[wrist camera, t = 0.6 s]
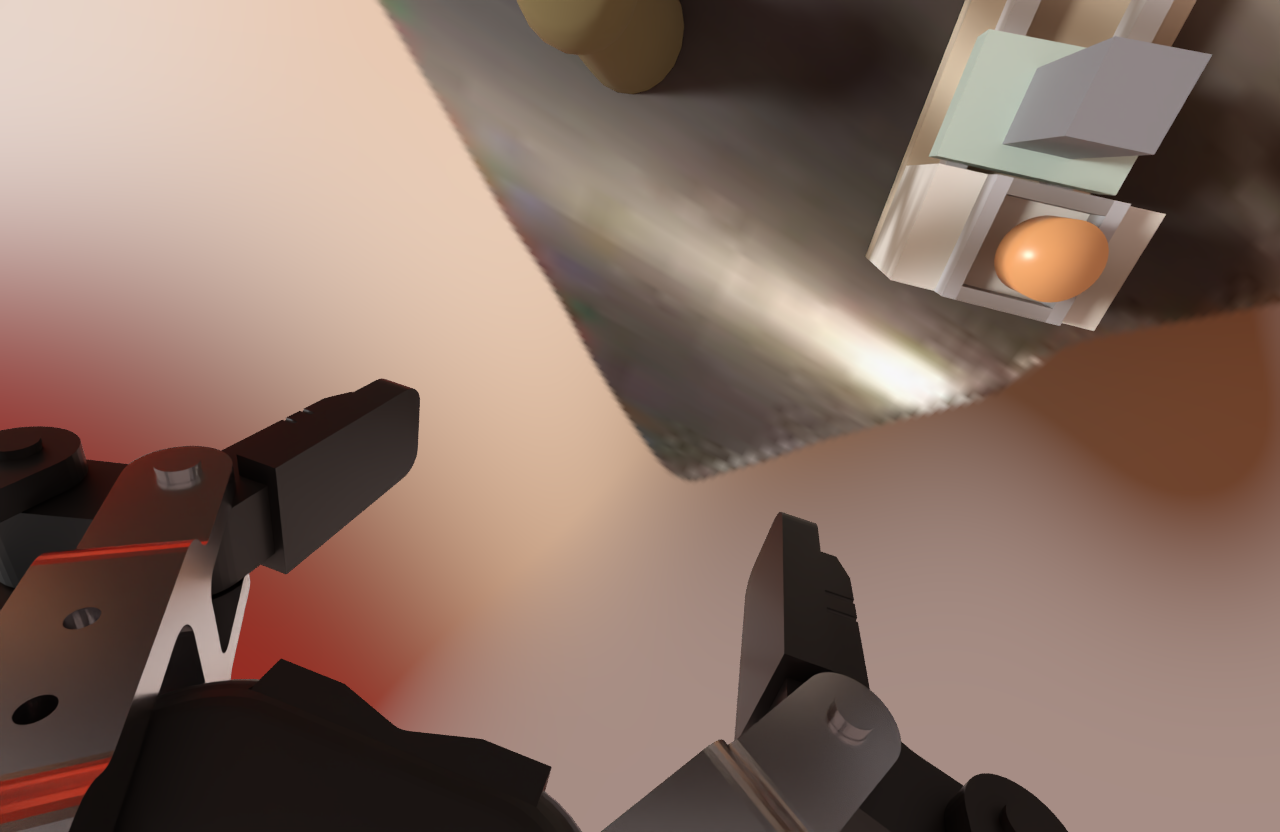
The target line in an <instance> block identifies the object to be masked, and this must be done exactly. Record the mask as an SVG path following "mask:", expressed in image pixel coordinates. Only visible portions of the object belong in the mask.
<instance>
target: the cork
mask: <svg viewBox="0 0 1280 832" xmlns="http://www.w3.org/2000/svg"><path fill="white" fill-rule="evenodd" d="M517 3H518V4H519V6H520V8H521V10H522V12H523V14H524V16H525V18H526V20H527V22H528V24H529V26H530V27H531V28H532V29H533V31H534V32H535V33H536V34H537V35H538V36H539V37H540V38H541V39H542V40H543V41H544V42H545V43H547V44H549V45H551V46H553V47H555V48H557V49H558V50H560V51H562V52H564V53H567V54H576V55H578V56H579V57H580V58H581V60H582V61H583V62H584V63H585V65H586V66H587V67H588V68H589V70H590V71H591V72H592V73H593V74H594V75H595V77H596V78H597V79H598V80H599V81H600V82H601V83H602V84H603V85H605V86H606V87H608V88H610V89H612V90H614V91H616V92H619V93H628V94H635V93H639V92H643V91H647V90H649V89H651V88H652V87H654V86H655V85H657V84H658V83H659V82H661V81H662V80H663V79H664V78H665V77H666V75H667V74H668V73H669V72H670V70H671V69H672V68H673V66H674V65H675V62H676V60H677V57H678V55H679V52H680V50H681V47H682V40H683V32H684V22H683V14H682V6H681V4H680V2H679V0H517Z"/></svg>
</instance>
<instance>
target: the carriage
mask: <svg viewBox="0 0 1280 832" xmlns="http://www.w3.org/2000/svg"><path fill="white" fill-rule="evenodd" d="M1211 56H1212V54H1207V53H1201V52H1196V51H1191V50H1186V49H1180V48H1175V47H1170V46H1165V45H1159V44H1154V43H1149V42H1144V41H1138V40H1133V39H1128V38H1123V37H1117V36H1115V37H1112V38H1110V39H1107V40H1105V41H1102V42H1100V43H1097V44H1095V45H1092V46H1090V47H1088V48H1085V47H1080V46H1075V45H1070V44H1065V43H1060V42H1054V41H1049V40H1044V39H1039V38H1034V37H1029V36H1023V35H1018V34H1013V33H1008V32H1003V31H998V30H992V29H988V30H987V31H985V32H984V33H983V34H981V35H980V36H978V37H977V40H976V42H975V44H974V47H973V49H972V52H971V54H970V57H969V59H968V62H967V64H966V66H965V69H964V71H963V74H962V76H961V79H960V81H959V84H958V86H957V88H956V91H955V93H954V96H953V98H952V101H951V103H950V106H949V108H948V110H947V113H946V115H945V118H944V120H943V123H942V125H941V128H940V130H939V132H938V135H937V137H936V140H935V142H934V145H933V147H932V150H931V152H930V154H929V157H933V158H937V159H942V160H946V161H951V162H955V163H960V164H964V165H968V166H973V167H977V168H982V169H986V170H991V171H995V172H1000V173H1004V174H1009V175H1013V176H1018V177H1022V178H1027V179H1031V180H1036V181H1040V182H1045V183H1049V184H1054V185H1058V186H1063V187H1067V188H1072V189H1076V190H1081V191H1085V192H1089V193H1094V194H1099V195H1115V196H1116V194H1117V193H1118V191H1119V189H1120V187H1121V186H1122V184H1123V182H1124V180H1125V179H1126V177H1127V175H1128V173H1129V172H1130V170H1131V168H1132V166H1133V164H1134V163H1135V161H1136V159H1137V157H1138V156H1140V155H1154V154H1155V152H1156V151H1157V149H1158V147H1159V146H1160V144H1161V142H1162V140H1163V139H1164V137H1165V135H1166V134H1167V132H1168V130H1169V128H1170V127H1171V125H1172V123H1173V121H1174V120H1175V118H1176V116H1177V115H1178V113H1179V111H1180V109H1181V108H1182V106H1183V104H1184V103H1185V101H1186V99H1187V97H1188V96H1189V94H1190V92H1191V91H1192V89H1193V87H1194V85H1195V84H1196V82H1197V80H1198V78H1199V77H1200V75H1201V73H1202V72H1203V70H1204V68H1205V66H1206V65H1207V63H1208V61H1209V60H1210V58H1211Z"/></svg>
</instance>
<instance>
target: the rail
mask: <svg viewBox="0 0 1280 832" xmlns="http://www.w3.org/2000/svg"><path fill="white" fill-rule="evenodd" d="M1196 1H1197V0H965V2H964V5H963V7H962V10H961V12H960V15H959V17H958V20H957V23H956V25H955V28H954V30H953V33H952V35H951V38H950V41H949V43H948V46H947V48H946V51H945V53H944V56H943V58H942V61H941V64H940V66H939V69H938V71H937V74H936V76H935V79H934V82H933V84H932V87H931V89H930V92H929V94H928V97H927V99H926V102H925V105H924V107H923V110H922V112H921V115H920V117H919V120H918V123H917V125H916V128H915V130H914V133H913V135H912V138H911V140H910V143H909V146H908V148H907V151H906V153H905V156H904V158H903V161H902V163H901V166H900V169H899V171H898V174H897V176H896V179H895V181H894V184H893V187H892V189H891V192H890V194H889V197H888V199H887V202H886V204H885V207H884V210H883V212H882V215H881V217H880V220H879V222H878V225H877V228H876V230H875V233H874V235H873V238H872V240H871V243H870V245H869V248H868V251H867V253H866V256H865V257H866V258H867V259H869V260H870V261H871V262H872V263H873V264H874V265H875V266H876V267H877V268H878V269H879V270H880V271H882V272H883V273H884V274H885V275H886V276H887V277H888V278H889V279H890V280H893V281H897V282H901V283H905V284H909V285H913V286H917V287H921V288H925V289H929V290H933V291H935V292H937V293H938V294H939V295H941V296H943V297H947V298H951V299H955V300H959V301H963V302H967V303H971V304H975V305H979V306H983V307H987V308H991V309H995V310H999V311H1003V312H1007V313H1011V314H1014V315H1018V316H1022V317H1026V318H1030V319H1034V320H1038V321H1042V322H1046V323H1050V324H1054V325H1058V326H1060V325H1061V323H1064V324H1068V325H1072V326H1076V327H1080V328H1084V329H1088V330H1092V331H1094V330H1095V328H1096V327H1097V325H1098V324H1099V322H1100V320H1101V319H1102V317H1103V316H1104V314H1105V312H1106V311H1107V309H1108V307H1109V306H1110V304H1111V303H1112V301H1113V299H1114V298H1115V296H1116V294H1117V293H1118V291H1119V290H1120V288H1121V286H1122V285H1123V283H1124V282H1125V280H1126V278H1127V277H1128V275H1129V273H1130V272H1131V270H1132V269H1133V267H1134V265H1135V264H1136V262H1137V261H1138V259H1139V257H1140V256H1141V254H1142V252H1143V251H1144V249H1145V248H1146V246H1147V244H1148V243H1149V241H1150V240H1151V238H1152V236H1153V235H1154V233H1155V231H1156V230H1157V228H1158V227H1159V225H1160V223H1161V222H1162V220H1163V219H1164V217H1165V215H1166V214H1163V213H1158V212H1154V211H1149V210H1145V209H1140V208H1136V207H1131V206H1130V205H1131V204H1129V203H1124V202H1120V201H1116V200H1111V199H1107V198H1102V197H1098V196H1093V195H1090V194H1091V193H1089V192H1085V191H1081V190H1076V189H1072V188H1067V187H1063V186H1058V185H1054V184H1049V183H1045V182H1040V181H1036V180H1031V179H1027V178H1022V177H1018V176H1013V175H1009V174H1004V173H1000V172H995V171H991V170H986V169H982V168H977V167H973V166H968V165H964V164H960V163H955V162H951V161H946V160H942V159H937V158H933V157H929V154H930V152H931V150H932V147H933V145H934V142H935V140H936V137H937V135H938V132H939V130H940V128H941V125H942V123H943V120H944V118H945V115H946V113H947V110H948V108H949V106H950V103H951V101H952V98H953V96H954V93H955V91H956V88H957V86H958V84H959V81H960V79H961V76H962V74H963V71H964V69H965V66H966V64H967V62H968V59H969V57H970V54H971V52H972V49H973V47H974V44H975V42H976V40H977V37H978V36H980V35H981V34H983V33H984V32H985V31H987V30H988V29H992V30H998V31H1003V32H1008V33H1013V34H1018V35H1023V36H1029V37H1034V38H1039V39H1044V40H1049V41H1054V42H1060V43H1065V44H1070V45H1075V46H1080V47H1085V48H1088V47H1090V46H1092V45H1095V44H1097V43H1100V42H1102V41H1105V40H1107V39H1110V38H1112V37H1115V36H1117V37H1123V38H1128V39H1133V40H1138V41H1144V42H1149V43H1154V44H1159V45H1165V46H1170V47H1171V46H1172V44H1173V43H1174V41H1175V39H1176V37H1177V35H1178V34H1179V32H1180V30H1181V28H1182V26H1183V24H1184V23H1185V21H1186V19H1187V17H1188V15H1189V13H1190V12H1191V10H1192V8H1193V6H1194V4H1195V3H1196ZM1045 215H1050V216H1058V217H1065V218H1071V219H1078V220H1084V221H1087V222H1090V223H1092V224H1094V225H1095V226H1097V227H1098V228H1099V229H1100V230H1101V231H1102V232H1103V234H1104V235H1105V237H1106V239H1107V242H1108V247H1109V255H1108V260H1107V263H1106V266H1105V268H1104V270H1103V272H1102V274H1101V275H1100V277H1099V278H1098V279H1097V280H1096V281H1095V283H1093V284H1092V285H1091V286H1090V287H1089V288H1088V289H1087V290H1085V291H1084V292H1082V293H1081V294H1079V295H1077V296H1075V297H1073V298H1070V299H1068V300H1064V301H1059V302H1040V301H1036V300H1033V299H1031V298H1029V297H1027V296H1025V295H1023V294H1021V293H1019V292H1017V291H1015V290H1012V289H1010V288H1008V287H1007V286H1005V285H1004V284H1003V283H1002V282H1001V281H1000V279H999V278H998V276H997V274H996V271H995V267H994V259H995V254H996V250H997V248H998V246H999V244H1000V242H1001V241H1002V239H1003V238H1004V236H1005V235H1006V234H1007V233H1008V232H1009V231H1010V230H1011V229H1013V228H1014V227H1015V226H1017V225H1018V224H1020V223H1021V222H1023V221H1025V220H1028V219H1030V218H1033V217H1038V216H1045Z"/></svg>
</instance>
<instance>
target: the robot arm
mask: <svg viewBox="0 0 1280 832" xmlns="http://www.w3.org/2000/svg"><path fill="white" fill-rule="evenodd" d="M419 407H420V397H419V393H418V392H417V391H416V390H415V389H413V388H410V387H407V386H404V385H401V384H398V383H395V382H392V381H389V380H386V379H378V380H376V381H374V382H372V383H370V384H368V385H367V386H364V387H363V388H361V389H359V390H357V391H355V392H349V393H345V394H340V395H336V396H332V397H328V398H324V399H322V400H320V401H318V402H316V403H314V404H312V405H310V406H308V407H306V408H304V410H303V412H301V411H299V412H297V413H295V414H293V415H291V416H289V417H287V418H286V420H285V421H284V420H281V421H279V422H277V423H275V424H273V425H271V426H269V427H267V428H265V429H263V430H261V431H259V432H257V433H255V434H253V435H251V436H249V437H247V438H245V439H244V440H241V441H240V442H237V443H236V444H234V445H232V446H230V447H228V448H226V449H224V450H222V451H220V450H217V449H214V448H209V447H202V446H183V447H174V448H168V449H163V450H159V451H155V452H152V453H149V454H147V455H144V456H142V457H140V458H138V459H136V460H134V461H133V462H131V463H130V464H121V463H112V462H103V461H94V460H86V458H85V454H84V451H83V448H82V444H81V441H80V438H79V437H78V436H77V435H76V434H74V433H73V432H71V431H68V430H65V429H61V428H54V427H21V428H13V429H7V430H1V431H0V832H582V831H581V830H580V828H579V827H578V826H577V824H576V823H575V821H574V820H573V818H572V817H571V816H570V815H569V814H568V813H567V812H566V811H565V809H564V808H563V807H562V806H561V805H560V804H559V803H558V802H557V801H556V800H554V799H553V798H552V797H551V796H550V795H548V794H547V793H546V792H545V789H546V785H547V782H548V778H549V774H550V771H551V766H548V765H546V764H543V763H540V762H538V761H535V760H533V759H530V758H528V757H526V756H523V755H521V754H518V753H515V752H513V751H510V750H508V749H505V748H503V747H500V746H498V745H496V744H493V743H491V742H488V741H486V740H483V739H475V738H466V737H457V736H449V735H440V734H429V733H421V732H412V731H405V730H402V729H399V728H397V727H396V726H394V725H393V724H392V723H391V722H389V721H388V720H387V719H385V717H383V716H382V715H381V714H380V713H379V712H377V711H376V710H375V709H374V708H373V707H371V706H370V705H369V704H368V703H367V702H365V701H364V700H363V699H362V698H361V697H359V696H358V695H357V694H356V693H355V692H354V691H352V690H351V689H350V688H349V687H347V686H346V685H345V684H343V683H341V682H338V681H336V680H333V679H331V678H328V677H326V676H323V675H321V674H318V673H316V672H313V671H311V670H308V669H306V668H303V667H301V666H298V665H296V664H293V663H291V662H288V661H286V660H283V659H280V660H279V661H278V662H277V663H276V664H275V665H274V666H273V667H272V668H271V669H270V670H269V671H268V672H267V673H266V674H265V675H264V676H263V677H262V678H261V679H260V680H257V679H234V680H231V670H232V665H233V661H234V656H235V651H236V647H237V642H238V637H239V633H240V628H241V624H242V620H243V615H244V610H245V606H246V602H247V597H248V592H249V588H250V578H249V573H250V572H251V571H253V570H254V569H255V568H257V566H259V565H260V564H261V565H263V566H266V567H269V568H271V569H274V570H276V571H279V572H281V573H284V574H287V573H289V572H290V571H291V570H292V569H293V568H295V567H296V566H297V565H298V564H300V563H301V562H302V561H303V560H304V559H306V558H307V557H308V556H309V555H310V554H312V553H313V552H314V551H315V550H316V549H318V548H319V547H320V546H321V545H323V544H324V543H325V542H326V541H327V540H329V539H330V538H331V537H332V536H333V535H335V534H336V533H337V532H338V531H339V530H341V529H342V528H343V527H344V526H346V525H347V524H348V523H349V522H350V521H351V520H353V519H354V518H355V517H356V516H357V515H359V514H360V513H361V512H362V511H364V510H365V509H366V508H367V507H368V506H370V505H371V504H372V503H373V502H375V501H376V500H377V499H378V498H379V497H380V496H382V495H383V494H384V493H385V492H387V491H388V490H389V489H390V488H391V487H393V486H394V485H395V484H396V483H398V482H399V481H400V480H401V479H402V478H403V477H405V476H406V474H407V473H408V472H409V471H410V469H411V468H412V466H413V464H414V461H415V459H416V455H417V449H418V430H419ZM853 600H854V598H853V593H852V587H851V582H850V578H849V576H848V575H847V573H846V571H845V570H844V568H843V567H842V565H841V564H840V562H839V561H838V559H837V557H835V556H832V555H829V554H826V553H823V552H820V543H819V534H818V527H817V524H816V523H812V522H810V521H807V520H804V519H801V518H798V517H795V516H792V515H788V514H785V513H782V512H779V513H778V514H777V516H776V518H775V519H774V522H773V524H772V526H771V528H770V530H769V533H768V535H767V537H766V539H765V542H764V544H763V546H762V548H761V551H760V553H759V555H758V557H757V560H756V562H755V564H754V567H753V569H752V572H751V575H750V578H749V581H748V585H747V589H746V595H745V607H744V621H743V634H742V647H741V660H740V674H739V687H738V701H737V713H736V727H735V740H734V741H733V742H732V743H730V744H729V745H727V744H726V742H725V741H724V740H718V741H716V742H714V743H712V744H711V745H709V746H708V747H706V748H705V749H704V750H702V751H701V752H700V753H699V754H698V755H696V756H695V757H694V758H692V759H691V760H690V761H689V762H687V763H686V764H685V765H684V766H682V767H681V768H680V769H679V770H677V771H676V772H675V773H674V774H672V775H671V776H670V777H669V778H667V779H666V780H665V781H664V782H663V783H661V784H660V785H659V786H657V787H656V788H655V789H654V790H652V791H651V792H650V793H649V794H648V795H646V796H645V797H644V798H642V799H641V800H640V801H639V802H638V803H636V804H635V805H634V806H632V807H631V808H630V809H629V810H627V811H626V812H625V813H624V814H622V815H621V816H620V817H619V818H617V819H616V820H615V821H614V822H612V823H611V824H610V825H609V826H607V827H606V828H605V829H604V830H602V831H601V832H1068V831H1067V830H1066V828H1065V827H1064V825H1063V824H1062V823H1061V822H1060V821H1059V819H1057V817H1056V816H1055V815H1054V814H1053V813H1052V812H1051V811H1050V810H1049V808H1048V807H1047V806H1046V805H1045V804H1043V803H1042V802H1041V801H1040V800H1039V799H1038V798H1037V797H1035V796H1034V795H1033V794H1032V793H1030V792H1029V791H1028V790H1026V789H1024V788H1023V787H1022V786H1020V785H1018V784H1017V783H1015V782H1013V781H1011V780H1009V779H1007V778H1004V777H1001V776H998V775H994V774H979V775H976V776H974V777H972V778H971V779H970V780H969V781H968V782H967V783H966V784H965V785H964V786H963V785H962V784H960V783H958V782H957V781H955V780H954V779H953V778H951V777H950V776H948V775H947V774H945V773H944V772H942V771H941V770H939V769H938V768H936V767H935V766H933V765H932V764H930V763H929V762H927V761H925V760H924V759H923V758H921V757H920V756H918V755H917V754H916V753H914V752H913V751H911V750H910V749H909V748H908V747H907V746H906V745H905V744H903V743H902V742H901V738H900V733H899V730H898V727H897V724H896V722H895V720H894V718H893V716H892V715H891V713H890V712H889V710H888V708H887V707H886V706H885V705H884V704H883V702H882V701H881V700H880V699H879V698H878V697H877V696H876V695H875V694H874V693H873V692H872V691H870V688H869V683H868V677H867V671H866V666H865V661H864V654H863V649H862V643H861V638H860V632H859V626H858V622H856V619H857V615H856V609H855V604H853Z"/></svg>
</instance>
